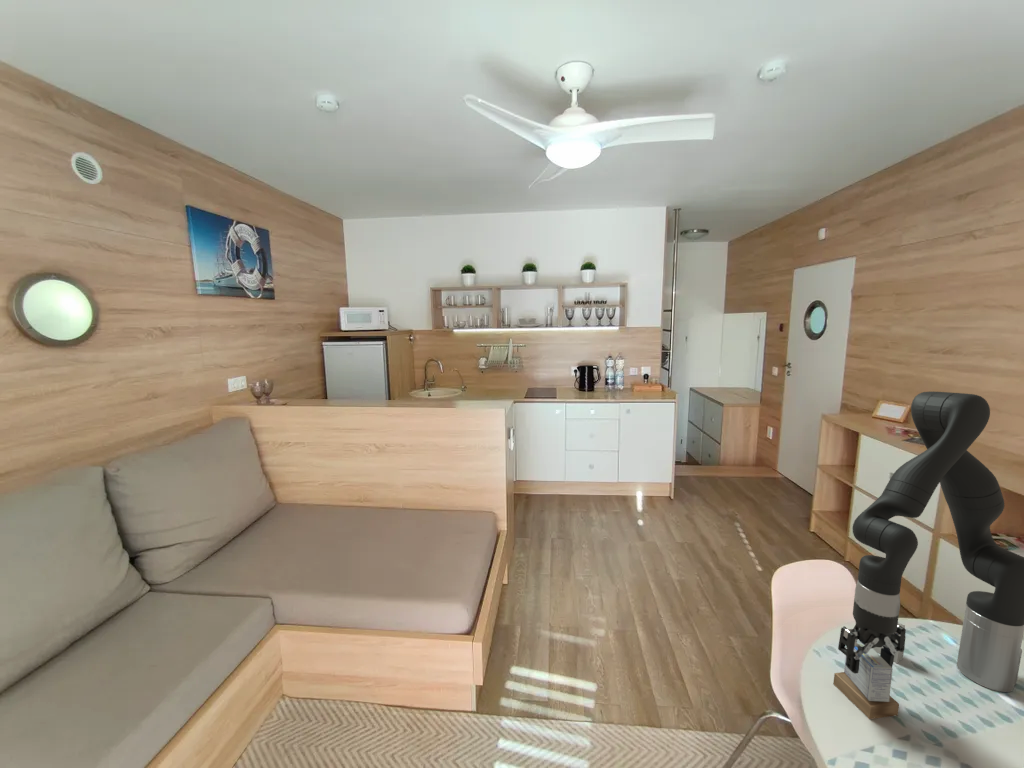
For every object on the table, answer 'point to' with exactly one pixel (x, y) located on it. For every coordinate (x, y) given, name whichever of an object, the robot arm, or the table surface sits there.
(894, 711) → the brown flat rectangular block
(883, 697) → the medicine box
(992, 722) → the table surface
